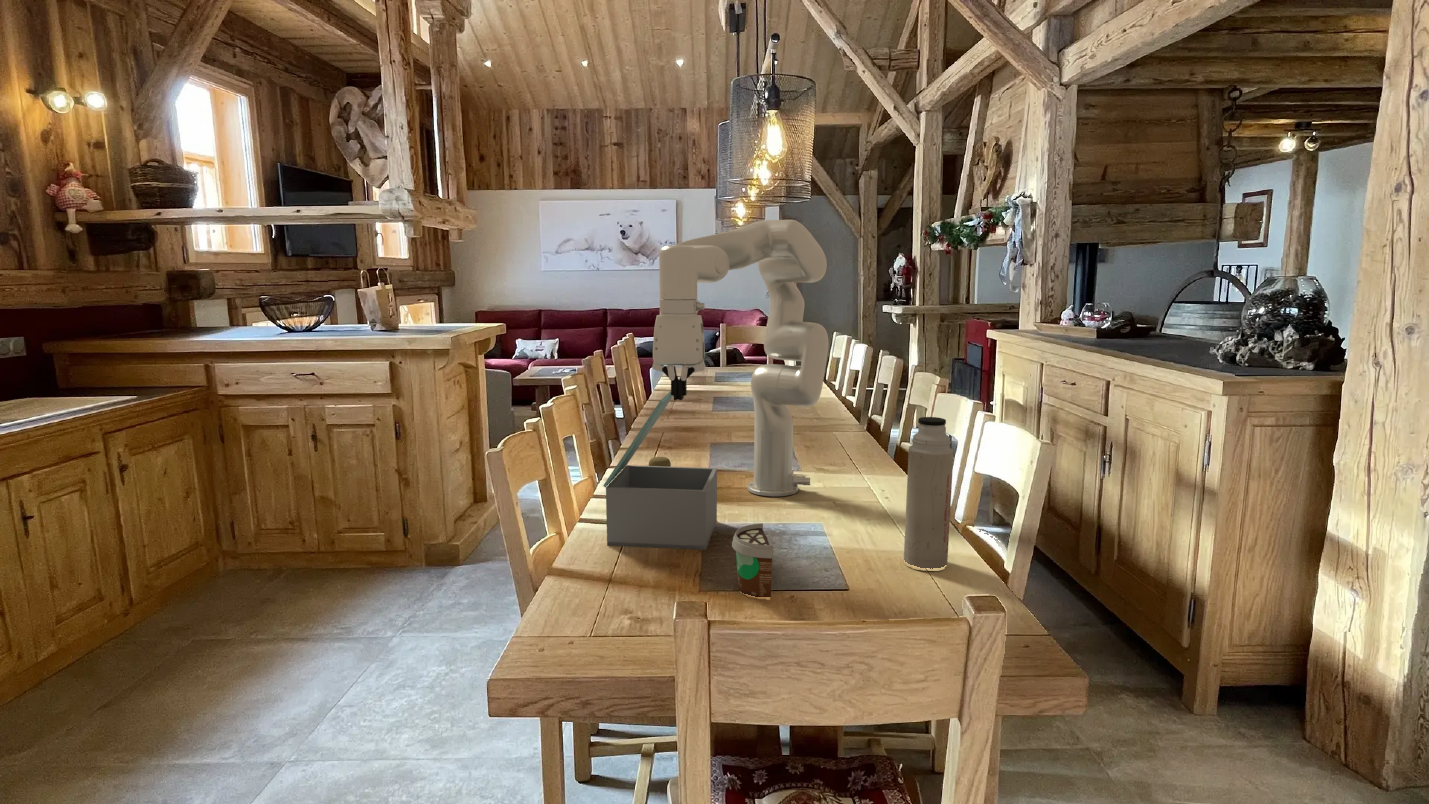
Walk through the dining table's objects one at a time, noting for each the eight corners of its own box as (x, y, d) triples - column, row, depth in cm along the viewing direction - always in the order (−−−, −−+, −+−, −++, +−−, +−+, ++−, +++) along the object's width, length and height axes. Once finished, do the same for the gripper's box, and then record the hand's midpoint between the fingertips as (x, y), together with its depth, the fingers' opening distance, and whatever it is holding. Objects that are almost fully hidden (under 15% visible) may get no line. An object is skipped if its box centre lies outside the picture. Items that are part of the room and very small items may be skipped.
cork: (669, 507, 183) (668, 461, 181) (644, 505, 184) (643, 459, 183) (675, 499, 189) (675, 455, 187) (651, 498, 190) (650, 453, 188)
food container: (728, 576, 143) (728, 523, 141) (761, 575, 143) (762, 522, 141) (735, 605, 131) (736, 547, 129) (772, 603, 131) (773, 546, 129)
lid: (679, 387, 170) (676, 385, 170) (663, 402, 151) (660, 400, 151) (627, 464, 174) (624, 462, 174) (605, 487, 156) (602, 485, 156)
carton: (716, 521, 173) (716, 468, 171) (705, 550, 156) (706, 491, 154) (627, 517, 176) (626, 465, 174) (607, 545, 158) (605, 487, 156)
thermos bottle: (952, 561, 150) (960, 417, 145) (940, 575, 143) (948, 424, 139) (911, 553, 154) (917, 412, 149) (897, 566, 147) (904, 419, 143)
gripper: (717, 307, 160) (717, 397, 163) (645, 307, 162) (646, 395, 165) (713, 309, 153) (713, 403, 156) (637, 309, 154) (638, 401, 158)
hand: (678, 399), depth 160 cm, fingers closed
